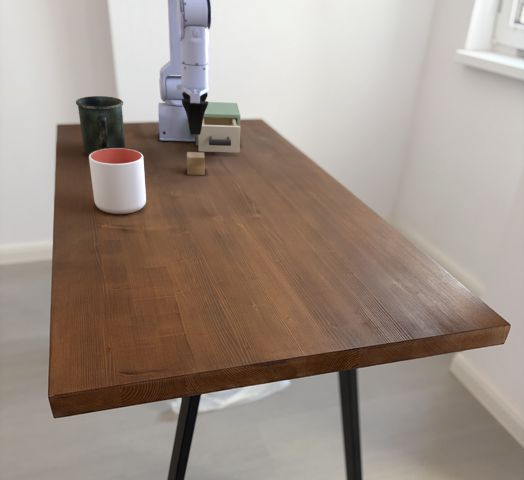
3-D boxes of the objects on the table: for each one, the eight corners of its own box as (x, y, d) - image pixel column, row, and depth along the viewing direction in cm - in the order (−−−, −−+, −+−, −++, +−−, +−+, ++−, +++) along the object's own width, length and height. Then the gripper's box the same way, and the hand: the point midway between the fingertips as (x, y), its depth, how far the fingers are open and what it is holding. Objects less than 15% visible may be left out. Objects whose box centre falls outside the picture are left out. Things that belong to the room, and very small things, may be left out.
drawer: (240, 158, 136) (241, 132, 133) (198, 157, 135) (198, 130, 131) (236, 139, 150) (237, 114, 146) (198, 137, 149) (197, 113, 145)
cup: (105, 219, 104) (99, 167, 98) (88, 201, 110) (81, 151, 105) (154, 211, 109) (151, 160, 103) (134, 194, 115) (130, 145, 109)
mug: (126, 146, 142) (121, 96, 135) (130, 164, 131) (125, 110, 123) (82, 146, 139) (75, 95, 132) (82, 165, 128) (75, 110, 121)
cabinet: (239, 146, 147) (240, 115, 142) (196, 145, 146) (195, 113, 141) (236, 133, 158) (237, 103, 153) (195, 131, 157) (195, 101, 152)
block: (187, 174, 127) (186, 157, 125) (187, 169, 130) (186, 151, 128) (204, 175, 128) (204, 157, 125) (204, 169, 131) (204, 152, 128)
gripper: (176, 56, 121) (178, 121, 129) (174, 68, 109) (176, 138, 117) (208, 58, 122) (208, 122, 130) (210, 70, 110) (209, 140, 118)
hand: (195, 130), depth 123 cm, fingers open, 5 cm apart
